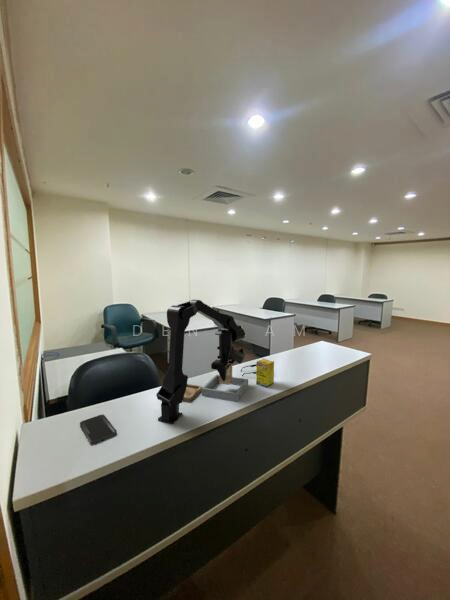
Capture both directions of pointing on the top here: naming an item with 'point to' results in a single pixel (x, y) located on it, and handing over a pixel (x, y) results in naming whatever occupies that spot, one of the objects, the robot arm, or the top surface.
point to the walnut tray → (191, 392)
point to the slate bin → (224, 394)
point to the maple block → (227, 376)
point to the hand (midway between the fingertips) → (225, 378)
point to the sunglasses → (248, 366)
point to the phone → (97, 429)
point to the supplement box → (265, 372)
